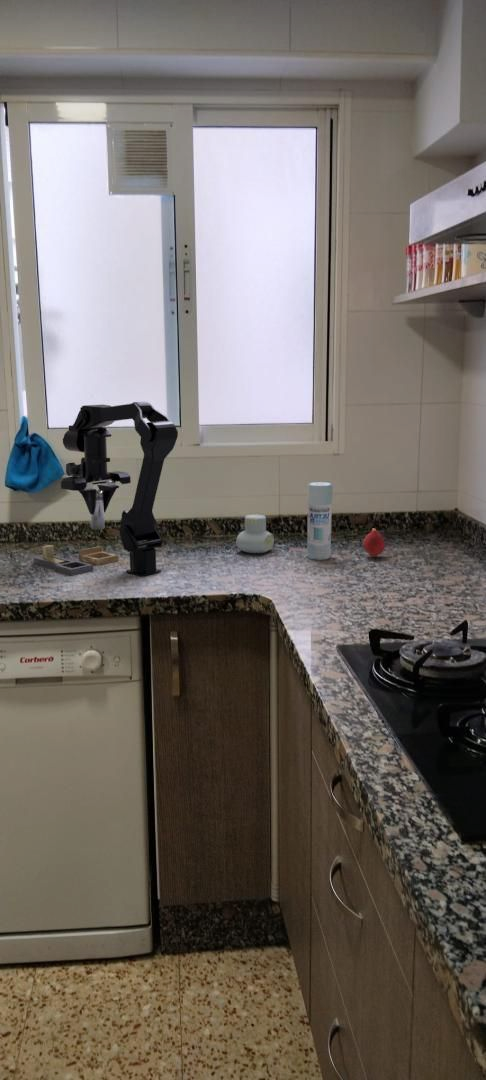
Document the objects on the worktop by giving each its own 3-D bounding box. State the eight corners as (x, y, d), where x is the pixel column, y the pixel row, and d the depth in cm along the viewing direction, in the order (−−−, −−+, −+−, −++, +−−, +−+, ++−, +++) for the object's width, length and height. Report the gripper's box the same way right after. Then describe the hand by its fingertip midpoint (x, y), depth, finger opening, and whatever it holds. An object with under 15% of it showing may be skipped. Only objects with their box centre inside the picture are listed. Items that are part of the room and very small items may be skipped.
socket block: (93, 570, 222) (93, 564, 222) (71, 575, 217) (70, 569, 217) (52, 559, 234) (52, 553, 234) (30, 563, 229) (30, 558, 229)
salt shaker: (107, 528, 231) (106, 490, 228) (96, 530, 228) (95, 492, 226) (99, 526, 233) (97, 489, 231) (88, 528, 230) (87, 490, 228)
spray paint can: (330, 554, 240) (332, 482, 236) (330, 560, 234) (332, 485, 230) (307, 554, 241) (308, 481, 237) (306, 559, 234) (307, 485, 230)
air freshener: (260, 557, 237) (260, 520, 235) (233, 554, 241) (233, 518, 239) (276, 549, 247) (276, 514, 245) (250, 546, 250) (250, 511, 248)
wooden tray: (118, 560, 233) (118, 550, 232) (97, 565, 228) (96, 554, 227) (100, 556, 238) (99, 546, 237) (78, 560, 233) (78, 550, 232)
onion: (383, 555, 240) (385, 526, 238) (385, 560, 234) (386, 530, 232) (362, 554, 240) (363, 526, 238) (363, 559, 234) (364, 530, 233)
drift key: (65, 565, 226) (65, 548, 225) (58, 566, 225) (57, 550, 224) (51, 561, 231) (50, 544, 230) (43, 562, 229) (42, 546, 228)
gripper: (104, 448, 238) (106, 505, 242) (47, 454, 225) (49, 514, 228) (131, 451, 231) (132, 510, 234) (73, 457, 218) (75, 519, 221)
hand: (97, 513), depth 230 cm, fingers closed on salt shaker, 3 cm apart
